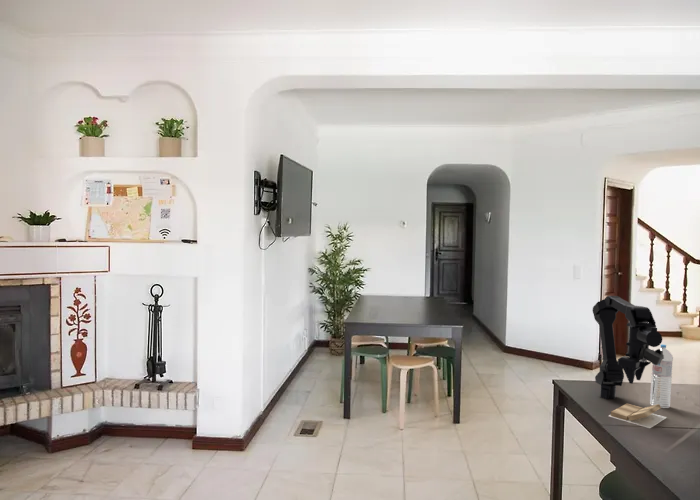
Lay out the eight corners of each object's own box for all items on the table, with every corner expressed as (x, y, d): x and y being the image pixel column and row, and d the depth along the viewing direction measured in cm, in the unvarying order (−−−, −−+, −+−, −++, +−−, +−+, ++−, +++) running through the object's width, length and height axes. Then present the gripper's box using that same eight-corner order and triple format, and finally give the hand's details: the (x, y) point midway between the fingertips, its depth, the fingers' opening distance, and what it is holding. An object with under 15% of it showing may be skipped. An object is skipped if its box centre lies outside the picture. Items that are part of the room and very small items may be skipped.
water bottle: (672, 411, 195) (676, 347, 194) (653, 409, 197) (657, 346, 195) (665, 405, 202) (669, 343, 201) (646, 403, 203) (650, 342, 202)
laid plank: (626, 407, 195) (627, 403, 195) (642, 411, 191) (642, 407, 191) (610, 415, 185) (610, 411, 185) (626, 420, 181) (626, 416, 181)
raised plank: (645, 411, 190) (643, 407, 191) (661, 407, 186) (659, 403, 187) (629, 420, 180) (627, 416, 181) (646, 417, 176) (644, 412, 177)
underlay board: (626, 408, 196) (626, 406, 196) (666, 420, 186) (666, 417, 186) (607, 418, 185) (608, 415, 185) (649, 431, 175) (650, 428, 175)
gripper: (652, 348, 175) (649, 392, 176) (670, 341, 188) (667, 382, 188) (618, 342, 184) (615, 384, 185) (638, 335, 196) (635, 375, 197)
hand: (634, 381), depth 188 cm, fingers open, 7 cm apart
